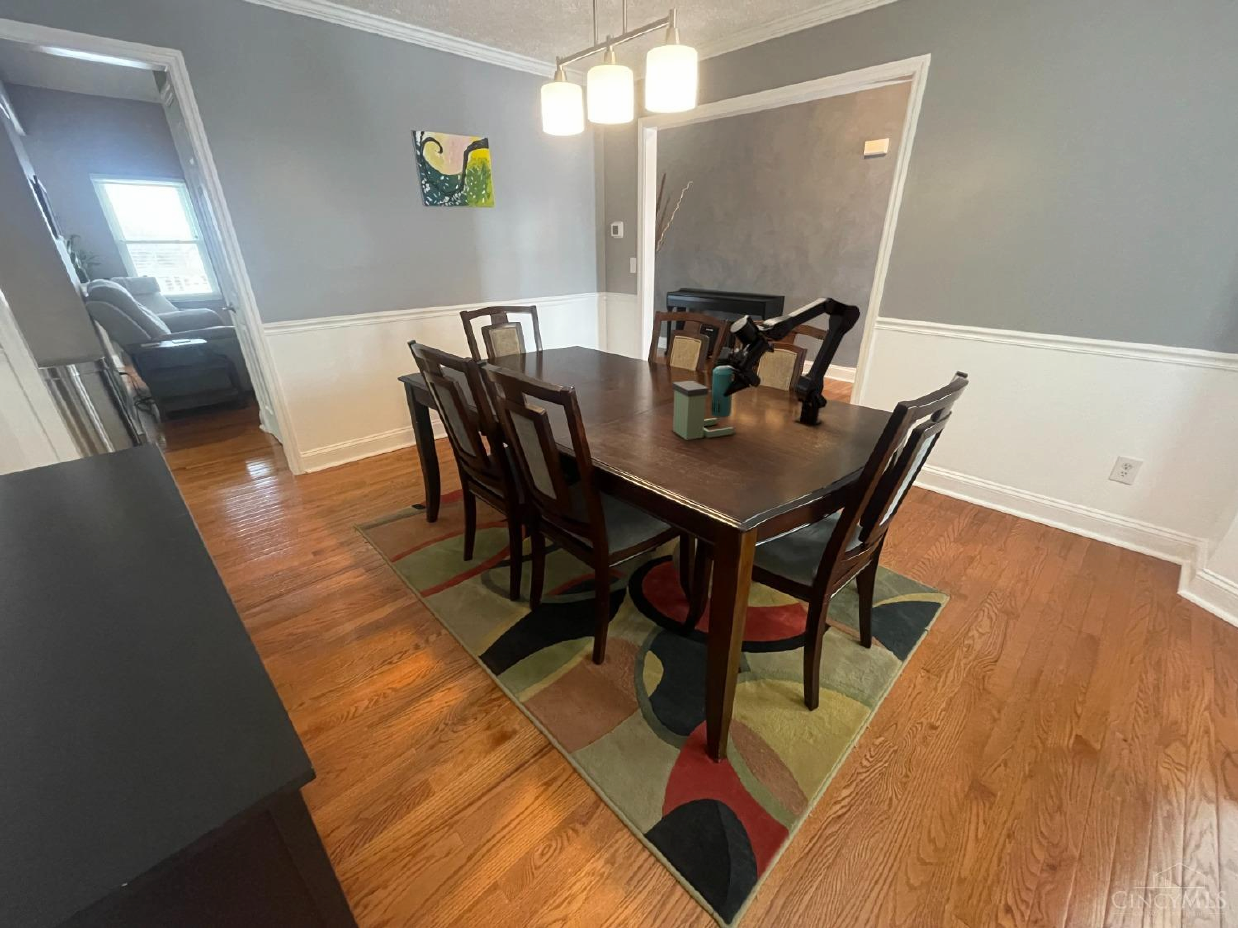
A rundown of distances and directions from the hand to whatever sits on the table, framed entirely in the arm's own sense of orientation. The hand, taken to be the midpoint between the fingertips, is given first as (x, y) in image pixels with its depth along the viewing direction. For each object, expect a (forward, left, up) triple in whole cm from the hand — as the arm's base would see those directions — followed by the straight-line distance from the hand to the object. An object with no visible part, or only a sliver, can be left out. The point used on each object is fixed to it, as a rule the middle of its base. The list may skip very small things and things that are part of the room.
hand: (718, 393), depth 152 cm
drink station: (+2, -4, -13) cm, 14 cm away
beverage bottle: (-2, 0, -9) cm, 9 cm away
